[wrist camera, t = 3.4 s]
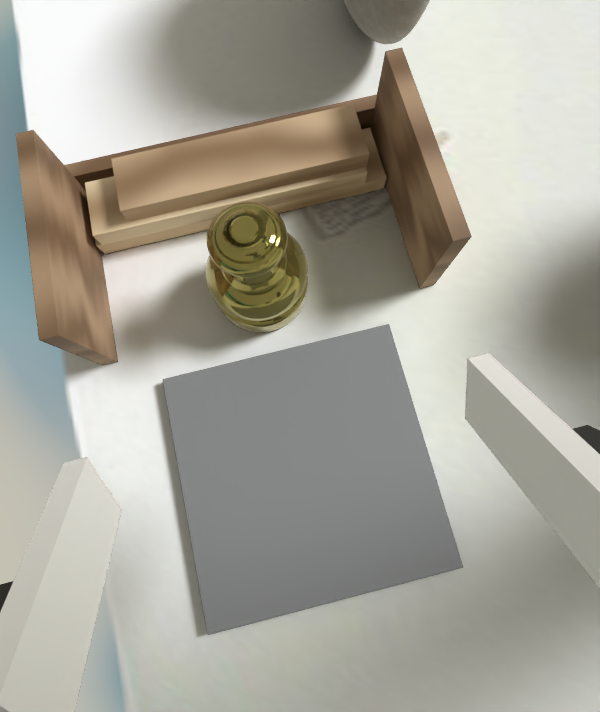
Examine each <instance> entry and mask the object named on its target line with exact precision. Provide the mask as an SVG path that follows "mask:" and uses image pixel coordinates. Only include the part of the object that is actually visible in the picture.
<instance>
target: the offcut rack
mask: <svg viewBox="0 0 600 712" xmlns="http://www.w3.org/2000/svg"><path fill="white" fill-rule="evenodd" d="M16 140H17V149H18V158H19V167H20V175H21V184H22V193H23V202H24V211H25V220H26V229H27V237H28V246H29V255H30V263H31V273H32V281H33V290H34V299H35V307H36V317H37V326H38V335H39V340H40V341H43V342H45V343H48V344H51V345H53V346H56V347H58V348H61V349H63V350H66V351H68V352H71V353H73V354H76V355H78V356H81V357H83V358H86V359H88V360H91V361H94V362H96V363H99V364H101V365H106V364H110V363H114V362H118V359H117V353H116V346H115V340H114V333H113V327H112V320H111V314H110V307H109V301H108V294H107V288H106V281H105V275H104V268H103V262H102V255H101V251H102V252H103V253H104V254H107V253H111V252H115V251H119V250H124V249H128V248H132V247H136V246H141V245H145V244H149V243H154V242H158V241H162V240H166V239H171V238H175V237H179V236H184V235H188V234H192V233H196V232H201V231H205V230H208V229H209V227H210V224H211V222H212V221H213V219H214V218H215V217H216V216H217V215H218V214H219V213H220V212H221V211H222V210H223V209H225V208H227V207H228V206H230V205H233V204H236V203H240V202H258V203H261V204H264V205H266V206H268V207H270V208H272V209H273V210H274V211H276V212H277V213H282V212H286V211H290V210H295V209H299V208H303V207H308V206H312V205H316V204H320V203H325V202H329V201H333V200H337V199H342V198H346V197H350V196H355V195H359V194H363V193H367V192H372V191H376V190H380V189H384V185H385V184H386V187H387V190H388V193H389V196H390V199H391V202H392V205H393V208H394V211H395V214H396V218H397V221H398V224H399V227H400V230H401V233H402V236H403V239H404V242H405V245H406V248H407V251H408V254H409V257H410V260H411V263H412V266H413V269H414V272H415V275H416V278H417V281H418V284H419V287H420V288H424V287H428V286H432V285H434V284H435V283H436V282H437V280H438V279H439V278H440V277H441V275H442V274H443V273H444V271H445V270H446V269H447V268H448V266H449V265H450V264H451V262H452V261H453V260H454V259H455V257H456V256H457V255H458V253H459V252H460V251H461V250H462V248H463V247H464V246H465V244H466V243H467V242H468V240H469V239H470V238H471V237H472V236H471V234H470V231H469V228H468V226H467V223H466V220H465V217H464V215H463V212H462V209H461V207H460V204H459V201H458V198H457V196H456V193H455V190H454V188H453V185H452V182H451V179H450V177H449V174H448V171H447V169H446V166H445V163H444V160H443V158H442V155H441V152H440V150H439V147H438V144H437V141H436V139H435V136H434V133H433V131H432V128H431V125H430V122H429V120H428V117H427V114H426V112H425V109H424V106H423V103H422V101H421V98H420V95H419V93H418V90H417V87H416V84H415V82H414V79H413V76H412V74H411V71H410V68H409V65H408V63H407V60H406V57H405V55H404V52H403V49H402V48H398V49H394V50H389V51H385V56H384V62H383V67H382V72H381V77H380V82H379V87H378V92H377V95H373V96H369V97H364V98H360V99H355V100H351V101H346V102H342V103H338V104H333V105H329V106H324V107H320V108H316V109H311V110H307V111H302V112H298V113H293V114H289V115H285V116H280V117H276V118H271V119H267V120H263V121H258V122H254V123H249V124H245V125H240V126H236V127H232V128H227V129H223V130H218V131H214V132H210V133H205V134H201V135H196V136H192V137H187V138H183V139H179V140H174V141H170V142H165V143H161V144H156V145H152V146H148V147H143V148H139V149H134V150H130V151H126V152H121V153H117V154H112V155H108V156H103V157H99V158H95V159H90V160H86V161H81V162H77V163H73V164H68V165H63V164H62V162H61V161H60V160H59V159H58V158H57V157H56V156H55V154H54V153H53V152H52V151H51V150H50V149H49V148H48V146H47V145H46V144H45V143H44V142H43V141H42V139H41V138H40V137H39V136H38V135H37V134H36V133H35V131H34V130H31V131H26V132H22V133H17V134H16Z"/></svg>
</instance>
